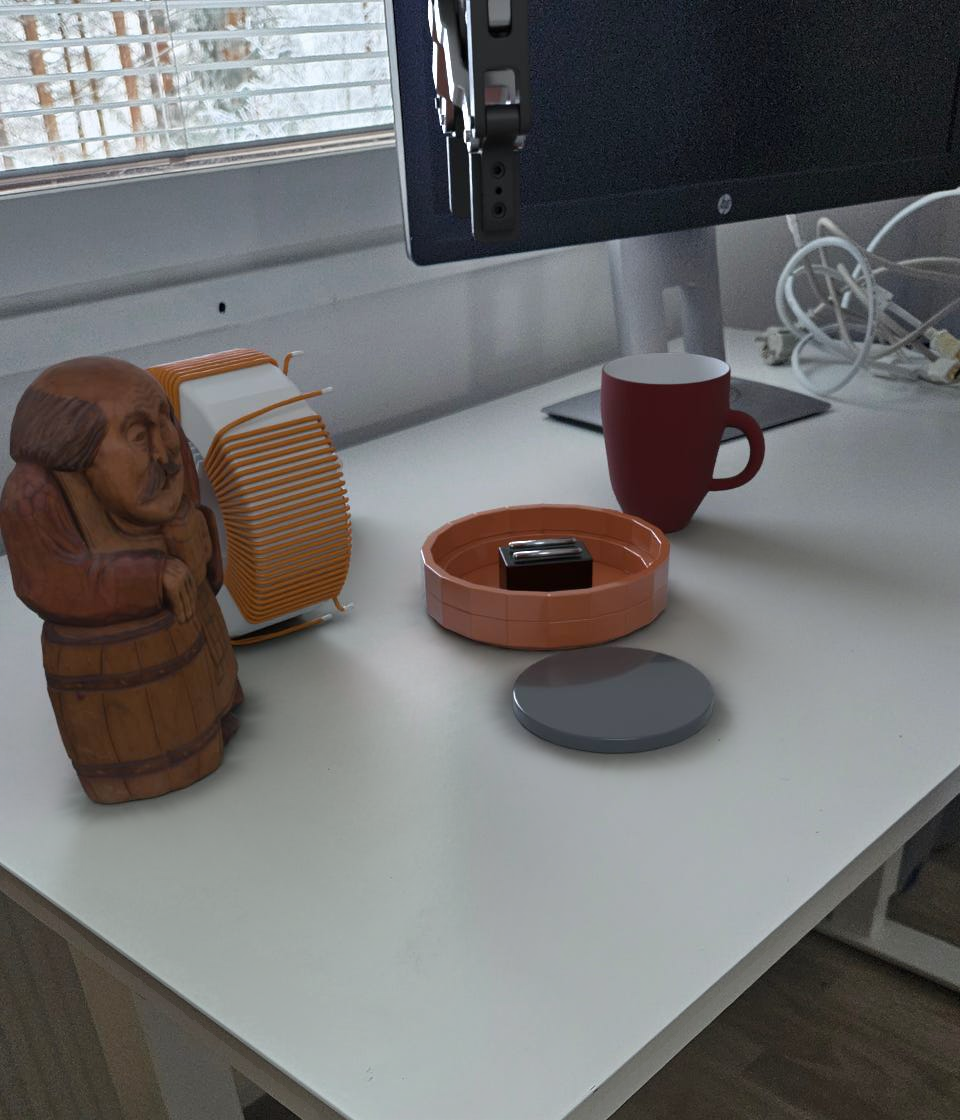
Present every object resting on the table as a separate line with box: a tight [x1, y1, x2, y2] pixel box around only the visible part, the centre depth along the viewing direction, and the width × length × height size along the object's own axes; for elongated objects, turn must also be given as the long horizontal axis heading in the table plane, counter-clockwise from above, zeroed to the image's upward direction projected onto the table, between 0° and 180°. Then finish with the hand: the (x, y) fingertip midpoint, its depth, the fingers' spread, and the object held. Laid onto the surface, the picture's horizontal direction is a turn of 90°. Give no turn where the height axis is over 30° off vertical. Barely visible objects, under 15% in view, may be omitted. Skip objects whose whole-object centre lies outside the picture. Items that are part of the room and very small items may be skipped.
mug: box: [600, 352, 766, 534], centre depth 80 cm, size 11×8×10 cm
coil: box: [143, 347, 356, 646], centre depth 68 cm, size 7×15×15 cm, turn 40°
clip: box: [499, 537, 593, 592], centre depth 72 cm, size 5×3×3 cm, turn 98°
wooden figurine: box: [0, 355, 245, 804], centre depth 55 cm, size 12×6×18 cm, turn 173°
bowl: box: [420, 503, 672, 651], centre depth 72 cm, size 14×14×4 cm
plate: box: [512, 646, 714, 754], centre depth 62 cm, size 10×10×1 cm
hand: (483, 229), depth 61 cm, fingers open, 8 cm apart
